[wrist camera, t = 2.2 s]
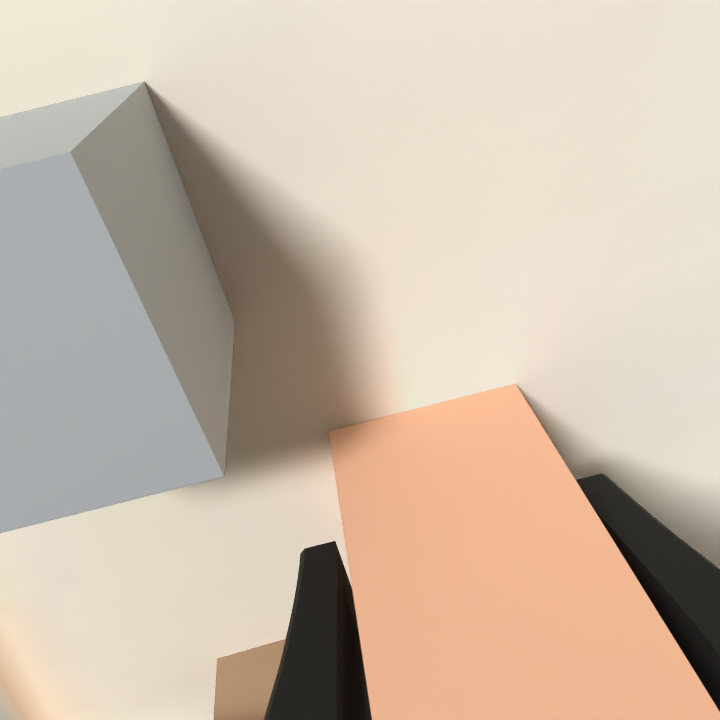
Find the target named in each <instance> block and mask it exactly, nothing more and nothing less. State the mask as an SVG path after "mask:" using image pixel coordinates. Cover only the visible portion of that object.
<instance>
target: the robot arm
mask: <svg viewBox="0 0 720 720" xmlns="http://www.w3.org/2000/svg"><path fill="white" fill-rule="evenodd" d="M576 482H577V483H578V485H579V486H580V488H581V490H582V491H583V493H584V494H585V496H586V498H587V499H588V501H589V502H590V504H591V506H592V507H593V509H594V510H595V512H596V514H597V515H598V517H599V518H600V520H601V522H602V523H603V525H604V527H605V528H606V530H607V531H608V533H609V535H610V536H611V538H612V539H613V541H614V543H615V544H616V546H617V547H618V549H619V551H620V552H621V554H622V555H623V557H624V559H625V560H626V562H627V563H628V565H629V567H630V568H631V570H632V572H633V573H634V575H635V576H636V578H637V580H638V581H639V583H640V584H641V586H642V588H643V589H644V591H645V592H646V594H647V596H648V597H649V599H650V600H651V602H652V604H653V605H654V607H655V608H656V610H657V612H658V613H659V615H660V617H661V618H662V620H663V621H664V623H665V625H666V626H667V628H668V629H669V631H670V633H671V634H672V636H673V637H674V639H675V641H676V642H677V644H678V645H679V647H680V649H681V650H682V652H683V653H684V655H685V657H686V658H687V660H688V662H689V663H690V665H691V666H692V668H693V670H694V671H695V673H696V674H697V676H698V678H699V679H700V681H701V682H702V684H703V686H704V687H705V689H706V690H707V692H708V694H709V695H710V697H711V698H712V700H713V702H714V703H715V705H716V707H717V708H718V710H719V711H720V569H719V568H718V567H716V566H715V565H714V564H712V563H711V562H710V561H708V560H707V559H706V558H704V557H703V556H702V555H701V554H699V553H698V552H697V551H695V550H694V549H693V548H692V547H690V546H689V545H688V544H686V543H685V542H684V541H683V540H681V539H680V538H679V537H678V536H676V535H675V534H674V533H673V532H671V531H670V530H669V529H668V528H666V527H665V526H664V525H663V524H662V523H660V522H659V521H658V520H657V519H656V518H654V517H653V516H652V515H651V514H650V513H648V512H647V511H646V510H645V509H644V508H642V507H641V506H640V505H639V504H638V503H637V502H635V501H634V500H633V499H632V498H631V497H630V496H628V495H627V494H626V493H625V492H624V491H623V490H622V489H621V488H619V487H618V486H617V485H616V484H615V483H614V482H613V481H611V480H610V479H609V478H608V477H607V476H605V475H603V474H598V475H594V476H590V477H586V478H582V479H578V480H576ZM264 720H372V716H371V710H370V703H369V696H368V690H367V683H366V677H365V670H364V663H363V657H362V650H361V643H360V637H359V630H358V624H357V617H356V610H355V604H354V597H353V590H352V587H351V585H350V582H349V579H348V576H347V573H346V570H345V568H344V565H343V562H342V559H341V556H340V554H339V551H338V548H337V545H336V542H335V541H333V542H329V543H325V544H321V545H317V546H313V547H309V548H305V549H304V550H303V551H302V553H301V555H300V566H299V573H298V580H297V587H296V593H295V598H294V604H293V609H292V614H291V619H290V623H289V628H288V632H287V636H286V640H285V644H284V648H283V653H282V657H281V661H280V665H279V669H278V672H277V676H276V679H275V683H274V686H273V690H272V693H271V696H270V700H269V703H268V707H267V710H266V713H265V717H264Z"/></svg>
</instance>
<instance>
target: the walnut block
mask: <svg viewBox="0 0 720 720" xmlns="http://www.w3.org/2000/svg"><path fill="white" fill-rule="evenodd" d="M285 640H286V639H285ZM285 640H281V641H278V642H274V643H271V644H267V645H264V646H260V647H257V648H253V649H250V650H246V651H243V652H239V653H236V654H232V655H229V656H225V657H222V658H218V659H217V674H216V690H215V706H214V720H264V717H265V713H266V710H267V707H268V703H269V700H270V696H271V693H272V690H273V686H274V683H275V679H276V676H277V672H278V669H279V665H280V661H281V657H282V653H283V648H284V644H285Z"/></svg>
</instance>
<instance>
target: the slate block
mask: <svg viewBox="0 0 720 720" xmlns="http://www.w3.org/2000/svg"><path fill="white" fill-rule="evenodd" d="M234 332H235V319H234V317H233V314H232V311H231V309H230V306H229V303H228V301H227V298H226V295H225V293H224V290H223V288H222V285H221V282H220V280H219V277H218V274H217V272H216V269H215V266H214V264H213V261H212V258H211V256H210V253H209V251H208V248H207V245H206V243H205V240H204V237H203V235H202V232H201V229H200V227H199V224H198V221H197V219H196V216H195V214H194V211H193V208H192V206H191V203H190V200H189V198H188V195H187V192H186V190H185V187H184V184H183V182H182V179H181V177H180V174H179V171H178V169H177V166H176V163H175V161H174V158H173V155H172V153H171V150H170V147H169V145H168V142H167V140H166V137H165V134H164V132H163V129H162V126H161V124H160V121H159V118H158V116H157V113H156V111H155V108H154V105H153V103H152V100H151V97H150V95H149V92H148V89H147V87H146V84H145V82H141V83H137V84H133V85H129V86H125V87H121V88H117V89H113V90H109V91H105V92H101V93H97V94H93V95H89V96H84V97H80V98H76V99H72V100H68V101H64V102H60V103H56V104H52V105H48V106H44V107H40V108H36V109H32V110H28V111H24V112H20V113H16V114H12V115H8V116H4V117H0V533H3V532H7V531H11V530H15V529H18V528H22V527H26V526H30V525H34V524H38V523H42V522H46V521H50V520H54V519H58V518H62V517H66V516H70V515H74V514H78V513H82V512H86V511H90V510H94V509H98V508H102V507H106V506H110V505H114V504H118V503H122V502H126V501H130V500H134V499H138V498H142V497H146V496H149V495H153V494H157V493H161V492H165V491H169V490H173V489H177V488H181V487H185V486H189V485H193V484H197V483H201V482H205V481H209V480H213V479H217V478H221V477H224V473H225V459H226V445H227V431H228V417H229V403H230V388H231V374H232V360H233V346H234Z"/></svg>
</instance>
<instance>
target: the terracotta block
mask: <svg viewBox="0 0 720 720" xmlns="http://www.w3.org/2000/svg"><path fill="white" fill-rule="evenodd" d="M329 438H330V445H331V451H332V458H333V465H334V471H335V478H336V484H337V491H338V498H339V504H340V511H341V518H342V524H343V531H344V537H345V544H346V551H347V557H348V564H349V571H350V577H351V584H352V590H353V597H354V604H355V610H356V617H357V624H358V630H359V637H360V643H361V650H362V657H363V663H364V670H365V677H366V683H367V690H368V696H369V703H370V710H371V716H372V720H720V711H719V710H718V708H717V707H716V705H715V703H714V702H713V700H712V698H711V697H710V695H709V694H708V692H707V690H706V689H705V687H704V686H703V684H702V682H701V681H700V679H699V678H698V676H697V674H696V673H695V671H694V670H693V668H692V666H691V665H690V663H689V662H688V660H687V658H686V657H685V655H684V653H683V652H682V650H681V649H680V647H679V645H678V644H677V642H676V641H675V639H674V637H673V636H672V634H671V633H670V631H669V629H668V628H667V626H666V625H665V623H664V621H663V620H662V618H661V617H660V615H659V613H658V612H657V610H656V608H655V607H654V605H653V604H652V602H651V600H650V599H649V597H648V596H647V594H646V592H645V591H644V589H643V588H642V586H641V584H640V583H639V581H638V580H637V578H636V576H635V575H634V573H633V572H632V570H631V568H630V567H629V565H628V563H627V562H626V560H625V559H624V557H623V555H622V554H621V552H620V551H619V549H618V547H617V546H616V544H615V543H614V541H613V539H612V538H611V536H610V535H609V533H608V531H607V530H606V528H605V527H604V525H603V523H602V522H601V520H600V518H599V517H598V515H597V514H596V512H595V510H594V509H593V507H592V506H591V504H590V502H589V501H588V499H587V498H586V496H585V494H584V493H583V491H582V490H581V488H580V486H579V485H578V483H577V482H576V480H575V478H574V477H573V475H572V473H571V472H570V470H569V469H568V467H567V465H566V464H565V462H564V461H563V459H562V457H561V456H560V454H559V453H558V451H557V449H556V448H555V446H554V445H553V443H552V441H551V440H550V438H549V436H548V435H547V433H546V432H545V430H544V428H543V427H542V425H541V424H540V422H539V420H538V419H537V417H536V416H535V414H534V412H533V411H532V409H531V408H530V406H529V404H528V403H527V401H526V400H525V398H524V396H523V395H522V393H521V391H520V390H519V388H518V387H517V385H516V384H512V385H509V386H505V387H501V388H497V389H493V390H489V391H485V392H481V393H477V394H473V395H469V396H465V397H461V398H457V399H453V400H449V401H445V402H441V403H437V404H433V405H429V406H425V407H421V408H417V409H413V410H409V411H406V412H402V413H398V414H394V415H390V416H386V417H382V418H378V419H374V420H370V421H366V422H362V423H358V424H354V425H350V426H346V427H342V428H338V429H334V430H331V431H329Z"/></svg>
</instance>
